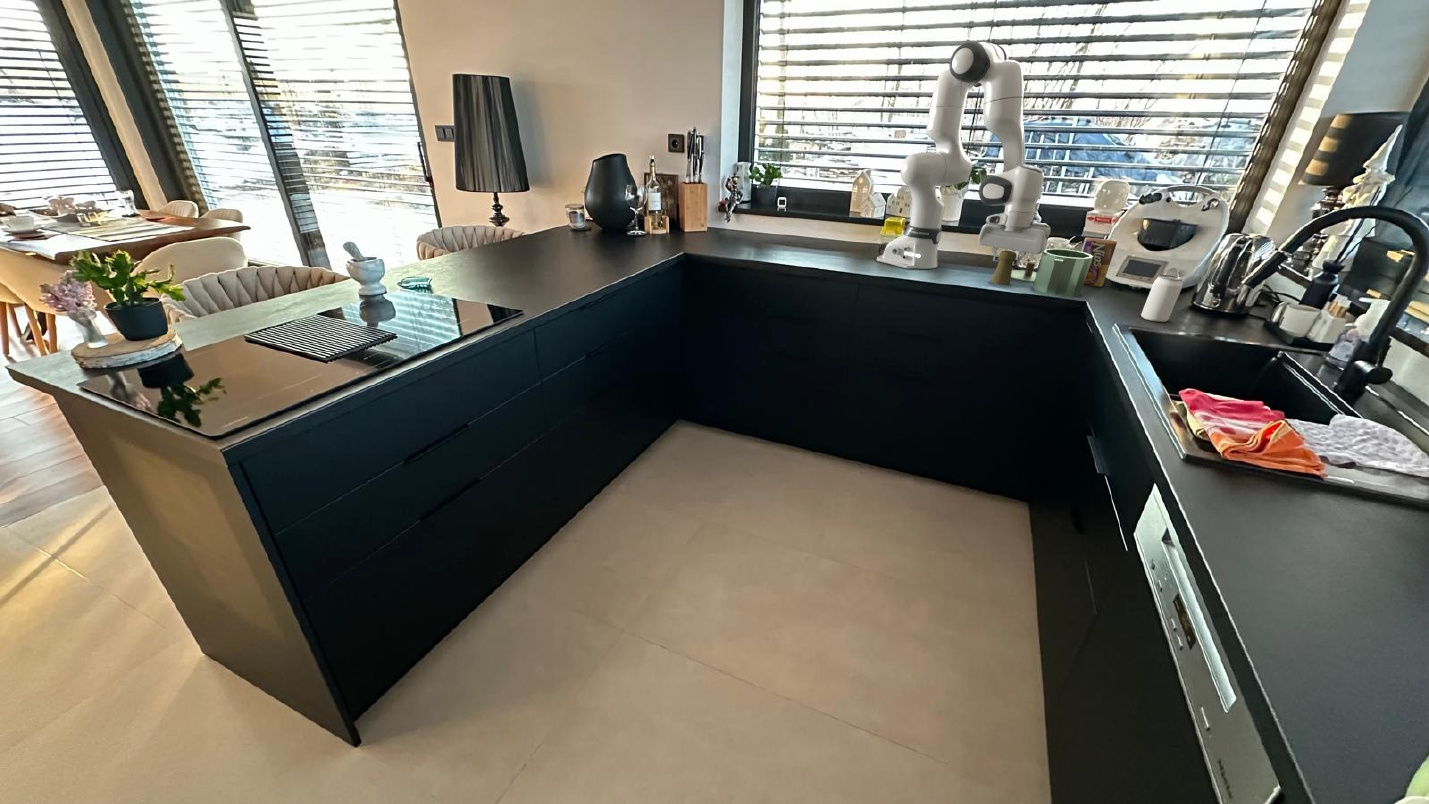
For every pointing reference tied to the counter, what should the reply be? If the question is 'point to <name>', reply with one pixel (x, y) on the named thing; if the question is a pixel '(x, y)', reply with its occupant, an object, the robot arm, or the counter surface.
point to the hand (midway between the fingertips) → (1005, 262)
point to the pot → (1062, 272)
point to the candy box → (1098, 259)
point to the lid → (1025, 273)
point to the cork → (1004, 268)
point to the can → (1162, 298)
